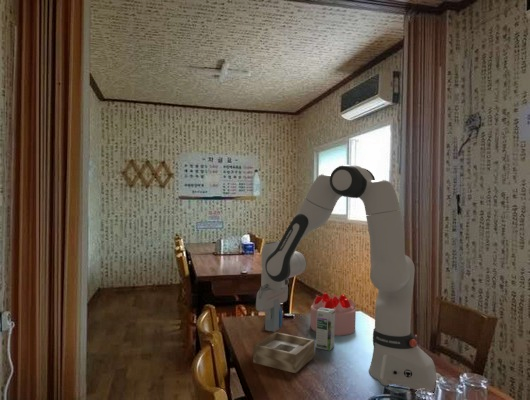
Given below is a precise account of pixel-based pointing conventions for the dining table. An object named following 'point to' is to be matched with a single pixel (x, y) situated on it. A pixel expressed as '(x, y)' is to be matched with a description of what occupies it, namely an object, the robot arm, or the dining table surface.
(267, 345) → the crate
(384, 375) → the robot arm
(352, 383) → the dining table surface
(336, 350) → the dining table surface
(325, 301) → the cake
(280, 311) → the perfume bottle
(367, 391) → the dining table surface
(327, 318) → the syrup box
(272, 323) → the peg
